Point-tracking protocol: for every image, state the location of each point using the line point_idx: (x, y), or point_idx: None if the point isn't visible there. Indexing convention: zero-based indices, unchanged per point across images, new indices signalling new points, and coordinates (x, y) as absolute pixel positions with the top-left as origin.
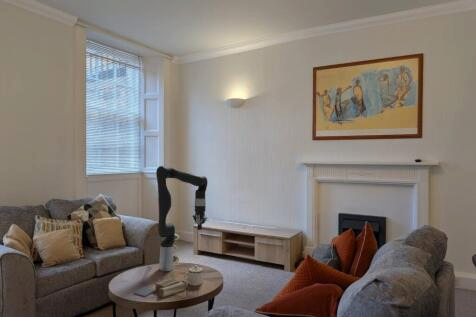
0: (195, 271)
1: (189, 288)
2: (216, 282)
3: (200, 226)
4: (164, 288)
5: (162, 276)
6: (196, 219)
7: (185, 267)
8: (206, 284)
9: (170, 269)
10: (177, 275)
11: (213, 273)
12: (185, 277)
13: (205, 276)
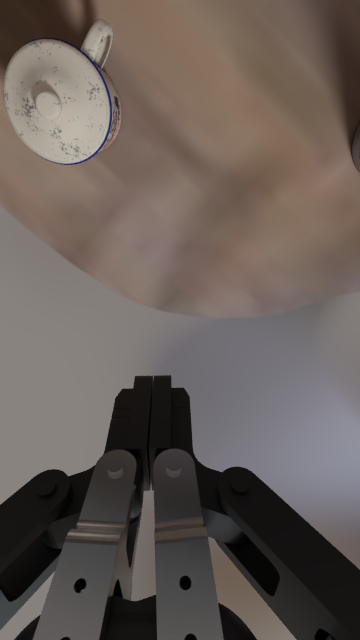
0: (11, 63)
1: (30, 6)
2: (24, 210)
3: (109, 430)
4: None
5: (331, 16)
6: (209, 566)
7: (313, 244)
8: None
9: (357, 139)
10: (261, 117)
11: (137, 285)
12: (110, 42)
13: (131, 229)
